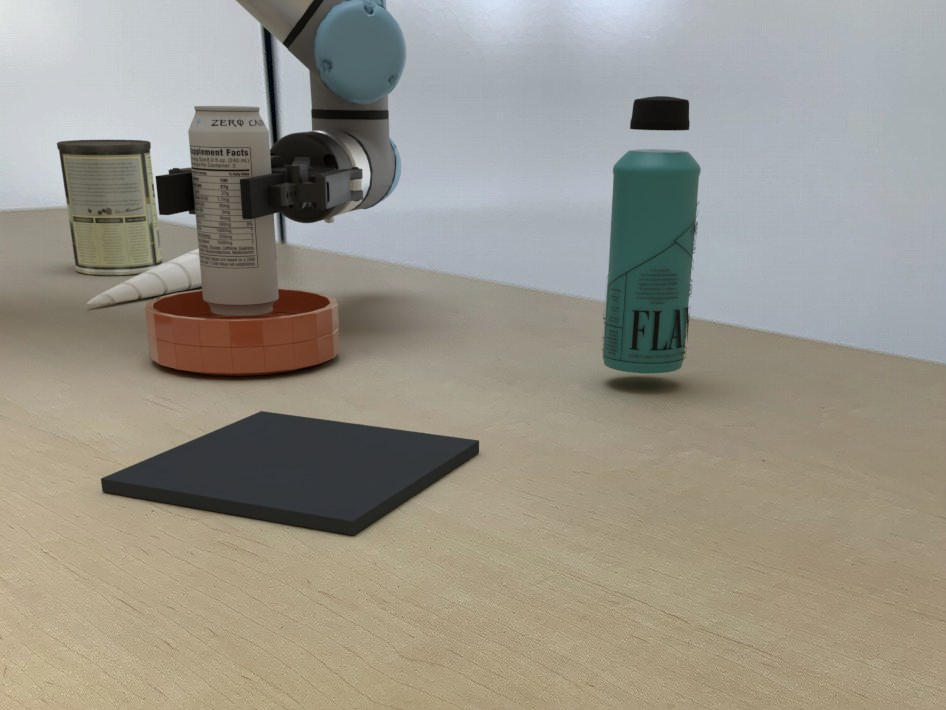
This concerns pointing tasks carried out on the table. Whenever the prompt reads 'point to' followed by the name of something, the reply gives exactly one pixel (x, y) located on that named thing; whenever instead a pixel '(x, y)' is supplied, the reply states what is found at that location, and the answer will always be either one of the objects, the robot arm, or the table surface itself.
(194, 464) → the mat
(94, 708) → the table surface
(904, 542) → the table surface
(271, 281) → the energy drink can
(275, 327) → the bowl
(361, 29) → the robot arm
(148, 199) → the coffee can
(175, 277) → the unicorn horn
